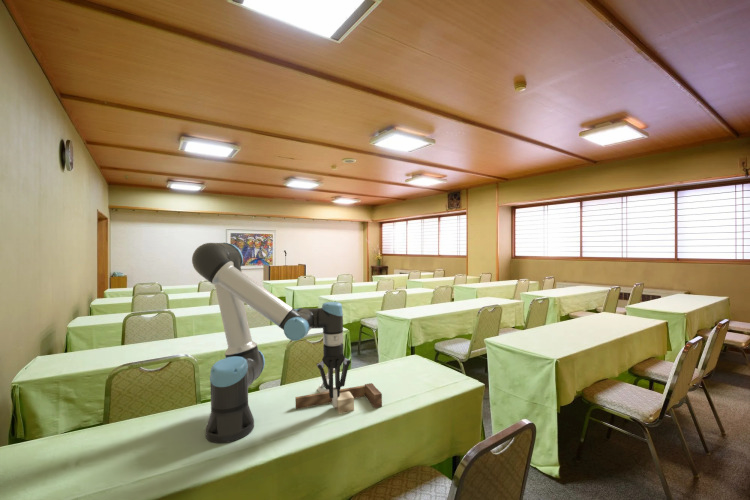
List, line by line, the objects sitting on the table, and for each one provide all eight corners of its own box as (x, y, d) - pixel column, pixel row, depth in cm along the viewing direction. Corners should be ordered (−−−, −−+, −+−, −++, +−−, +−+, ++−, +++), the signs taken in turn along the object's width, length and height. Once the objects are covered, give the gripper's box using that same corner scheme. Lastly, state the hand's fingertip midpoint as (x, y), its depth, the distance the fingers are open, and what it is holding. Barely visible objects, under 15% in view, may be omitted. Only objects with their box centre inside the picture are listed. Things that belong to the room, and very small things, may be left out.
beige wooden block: (338, 413, 126) (338, 400, 126) (334, 406, 132) (334, 393, 132) (354, 410, 129) (353, 397, 129) (349, 403, 134) (349, 391, 134)
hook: (347, 379, 146) (334, 372, 143) (330, 401, 146) (317, 395, 144) (343, 369, 153) (331, 363, 150) (328, 391, 153) (315, 384, 151)
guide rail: (300, 422, 120) (300, 408, 120) (295, 407, 132) (295, 394, 132) (384, 406, 132) (384, 393, 132) (372, 393, 144) (372, 381, 143)
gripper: (318, 348, 123) (319, 413, 123) (352, 344, 127) (354, 406, 128) (314, 343, 130) (315, 404, 130) (347, 339, 134) (348, 398, 135)
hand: (334, 405), depth 129 cm, fingers closed
